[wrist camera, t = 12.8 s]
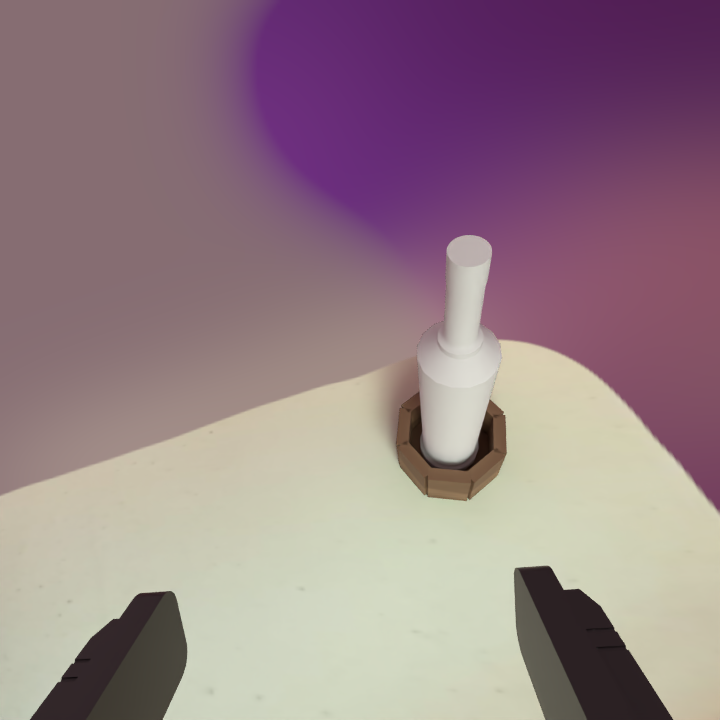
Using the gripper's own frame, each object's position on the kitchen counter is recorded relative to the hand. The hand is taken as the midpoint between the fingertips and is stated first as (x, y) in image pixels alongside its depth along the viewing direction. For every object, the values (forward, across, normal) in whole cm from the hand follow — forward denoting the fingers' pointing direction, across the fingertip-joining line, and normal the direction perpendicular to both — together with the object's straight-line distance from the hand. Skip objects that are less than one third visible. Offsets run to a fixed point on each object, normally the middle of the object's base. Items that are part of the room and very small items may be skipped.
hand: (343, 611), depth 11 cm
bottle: (+30, -6, +10) cm, 33 cm away
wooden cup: (+31, -7, +11) cm, 34 cm away
